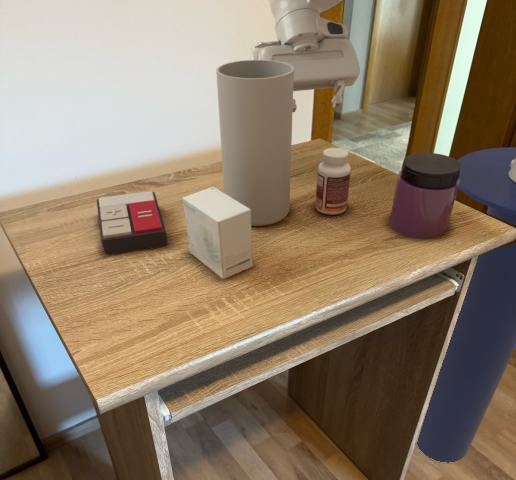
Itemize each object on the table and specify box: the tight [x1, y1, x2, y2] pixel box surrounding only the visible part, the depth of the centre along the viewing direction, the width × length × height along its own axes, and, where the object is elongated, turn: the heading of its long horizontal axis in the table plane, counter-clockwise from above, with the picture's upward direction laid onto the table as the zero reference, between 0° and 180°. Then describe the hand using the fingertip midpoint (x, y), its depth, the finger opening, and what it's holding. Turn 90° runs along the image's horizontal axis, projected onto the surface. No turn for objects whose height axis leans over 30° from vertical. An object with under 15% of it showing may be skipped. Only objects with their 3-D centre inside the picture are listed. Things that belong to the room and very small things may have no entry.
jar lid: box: [400, 152, 461, 188], centre depth 84 cm, size 10×10×2 cm
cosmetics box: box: [182, 186, 254, 280], centre depth 79 cm, size 10×6×10 cm, turn 37°
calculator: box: [96, 190, 168, 255], centre depth 89 cm, size 11×4×15 cm
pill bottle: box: [314, 147, 352, 216], centre depth 92 cm, size 6×6×11 cm
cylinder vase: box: [215, 59, 294, 227], centre depth 87 cm, size 12×12×25 cm
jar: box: [389, 170, 460, 240], centre depth 87 cm, size 10×10×11 cm
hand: (315, 108), depth 94 cm, fingers open, 8 cm apart
